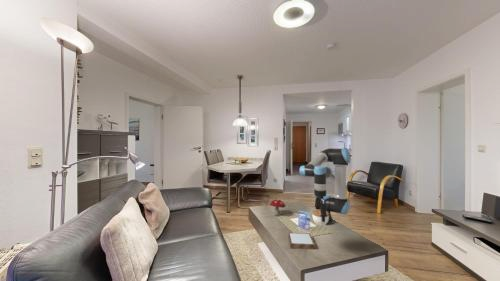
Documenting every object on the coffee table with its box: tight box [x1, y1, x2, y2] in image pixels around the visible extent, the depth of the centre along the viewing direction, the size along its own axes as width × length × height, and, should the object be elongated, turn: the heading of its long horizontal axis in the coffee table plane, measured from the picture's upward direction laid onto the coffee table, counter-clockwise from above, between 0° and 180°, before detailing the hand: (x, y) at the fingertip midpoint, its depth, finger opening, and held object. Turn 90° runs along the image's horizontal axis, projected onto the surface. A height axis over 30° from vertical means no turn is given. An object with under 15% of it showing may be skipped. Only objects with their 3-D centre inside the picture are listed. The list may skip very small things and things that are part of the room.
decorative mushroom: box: [268, 198, 286, 217], centre depth 191 cm, size 16×16×15 cm
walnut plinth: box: [287, 232, 316, 250], centre depth 140 cm, size 16×16×3 cm
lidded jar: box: [311, 209, 329, 227], centre depth 132 cm, size 11×11×9 cm
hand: (320, 222), depth 132 cm, fingers closed on lidded jar, 11 cm apart
